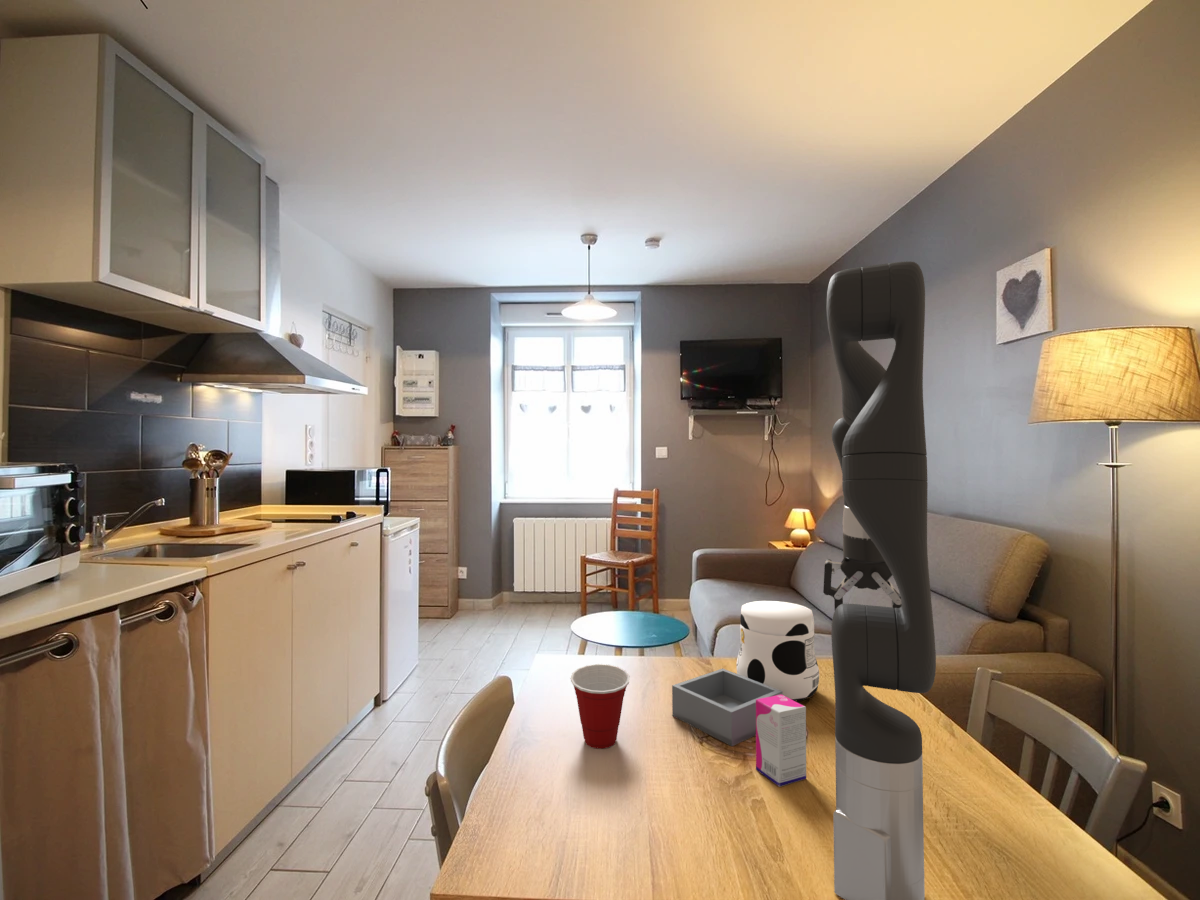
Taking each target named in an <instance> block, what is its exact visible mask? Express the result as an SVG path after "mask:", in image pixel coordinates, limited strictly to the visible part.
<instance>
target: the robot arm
mask: <svg viewBox="0 0 1200 900" xmlns="http://www.w3.org/2000/svg"><path fill="white" fill-rule="evenodd" d="M925 318H926V285H925V277H924V274H923V271H922V268H921V266H920V265H919V264H918V263H917V262H916V261H912V260H911V261H908V260H907V261H895V262H889V263H881V264H873V265H866V266H861V267H860V266H859V267H853V268H847V269H842V270H840V271H837V272H835V273H834V274H833V275H832V276H831V277H830V279H829V282H828V286H827V290H826V320H827V328H828V333H829V338H830V339H829V340H830V343H831V348H832V352H833V357H834V360H835V365H836V368H837V371H838V376H839V380H840V385H841V386H840V387H841V405H842V406H841V409H842V411H841V413H842V416H843V417H841V418H838V420H836V421H835V423H834V424H833V426H832V430H831V440H832V441H831V442H832V444H833V447H834V450H835V453H836V456H837V458H838V461H839V465H840V466H839V467H840V469H841V473H842V474H841V475H842V476H841V477H842V486H841V487H842V494H843V504H844V505H843V514H842V545H843V546H842V548H843V553H842V555H843V556H842V557H843V559H842V560H841V561H840V562H839V561H833V560H832V559H830V558H827V559H825V560H824V570H823V571H824V572H823V589H822V590H823V593H824V595H825V596H831V598H833V599H834V600H833V601H834V605H833V606H834V612H833V615H832V620H831V635H830V637H831V650H832V651H831V653H832V662H833V663H832V664H833V679H834V695H835V697H834V698H835V699H834V703H835V705H834V707H835V708H834V710H835V712H834V714H835V715H834V716H835V717H834V735H835V736H834V737H835V738H834V739H835V741H834V743H835V810H834V811H833V814H832V815H833V816H832V817H833V819H832V820H833V821H832V822H833V876H834V877H833V882H834V885H833V887H834V888H833V889H834V893H835V895H837V896H839V897H840V898H841V899H843V900H925V897H926V896H925V895H926V894H925V842H924V839H925V836H924V786H923V785H924V784H923V782H924V781H923V779H924V778H923V776H924V773H923V760H924V759H923V737H922V735H923V734H922V731H921V728H920V727H919V725H918V723H916V721H915V720H914V719H913V718H911V717H910V716H908V715H907V714H906V713H904V712H902V711H901V710H898V709H897V708H895V707H894V706H893V707H892V706H891V705H889V704H886V703H885V702H883V701H881V700H879V699H878V698H877V697H875V696H874V695H872V694H871V693H870V692H869V691H868V690H867V689H865V687H871V688H876V689H883V690H884V689H885V690H891V691H897V692H906V693H914V694H926V693H929V691H930V690H931V689H932V688H933V685H934V683H935V678H936V669H937V655H936V654H937V653H936V651H937V650H936V639H935V638H936V637H935V626H934V616H933V604H932V595H931V594H932V593H931V582H930V570H929V558H928V486H929V485H928V483H929V482H928V457H927V456H928V455H927V454H928V453H927V441H926V426H925V408H924V387H923V386H924V382H923V381H924V380H923V379H924V377H923V376H924V351H925V349H924V348H925V347H924V345H925V322H926V321H925V320H926V319H925ZM890 339H893V340H894V343H895V347H894V351H893V353H892V356H891V359H890V362H889V363H888V366H887V368H885V367H883V365H882V364H881V363H880V362H879V361H878V360H877V359H875V357H873V356H872V355H871V354H870V353H869V352H867V351H866V349H864V347H863V346H862V344H861V343H859V342H861V341H862V342H867V341H875V340H876V341H880V340H890ZM838 570H841V572H842V573H843V574H844V576H845V577H844V578H843V579H842V580H841V582H840V584H838V586H837V587H834V586H832V577H833V575H836V574H837V571H838ZM892 577H893V578H894V581H895V584H896V587H897V589H898V590H897V589H896V587H894V585H893V583H891V581H890V579H891V578H892ZM853 587H855V588H856V589H862V590H863V589H869V590H873V591H874V590H875V591H876V590H877V591H878V589H881V590H882V591H883V592H884V593H885V594H886V595H887V596H888V597H889V598H890V599H891V606H881V605H871V604H869V605H868V604H858V603H844V595H846V594H847V593H848V592H849V591H850V590H851V589H853ZM864 686H865V687H864Z"/></svg>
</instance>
